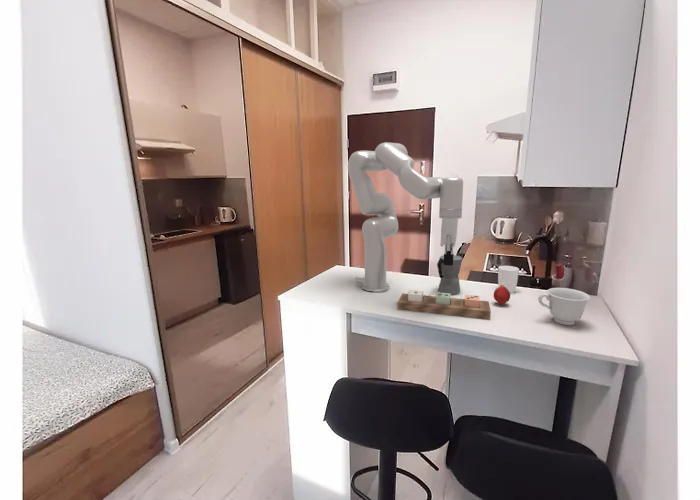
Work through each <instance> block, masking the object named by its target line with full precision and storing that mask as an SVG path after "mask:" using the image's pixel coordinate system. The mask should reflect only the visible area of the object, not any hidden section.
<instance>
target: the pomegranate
mask: <svg viewBox="0 0 700 500" xmlns="http://www.w3.org/2000/svg"><path fill="white" fill-rule="evenodd" d="M493 299H494V300H495V301H496V303H498V304H499V305H500V306H503V305H505V304H506V303H508V302H509V301H510V299H511V293H510V292H509V291H508V289H507V288H506V287H504V285H500V287H497V288H496V289H495V290H494V291H493Z"/></svg>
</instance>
